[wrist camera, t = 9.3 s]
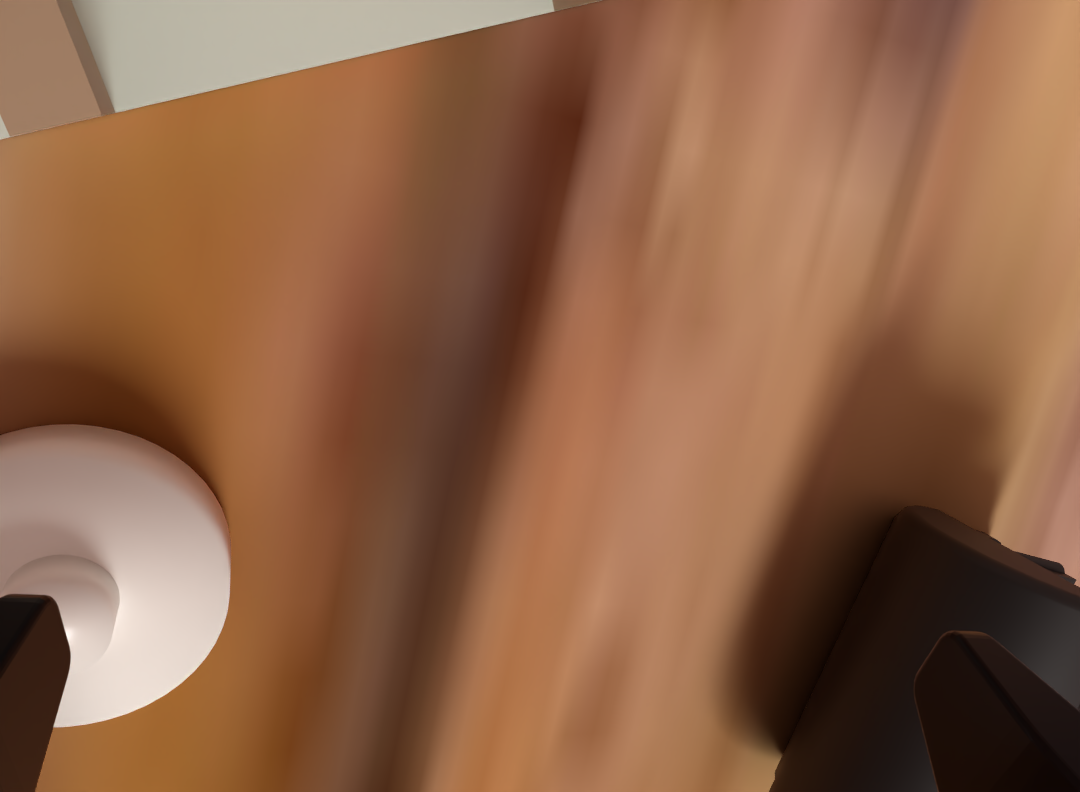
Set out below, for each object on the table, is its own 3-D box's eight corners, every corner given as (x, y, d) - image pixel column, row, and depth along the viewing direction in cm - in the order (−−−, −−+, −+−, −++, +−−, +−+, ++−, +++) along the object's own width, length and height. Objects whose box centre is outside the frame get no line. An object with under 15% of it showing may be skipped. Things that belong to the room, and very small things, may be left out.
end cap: (844, 477, 25) (1050, 595, 19) (997, 520, 28) (1215, 634, 22) (712, 766, 27) (863, 959, 21) (870, 777, 30) (1041, 946, 24)
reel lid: (287, 511, 19) (292, 574, 16) (133, 714, 19) (117, 801, 17) (6, 367, 16) (-33, 420, 14) (-161, 610, 17) (-224, 697, 14)
